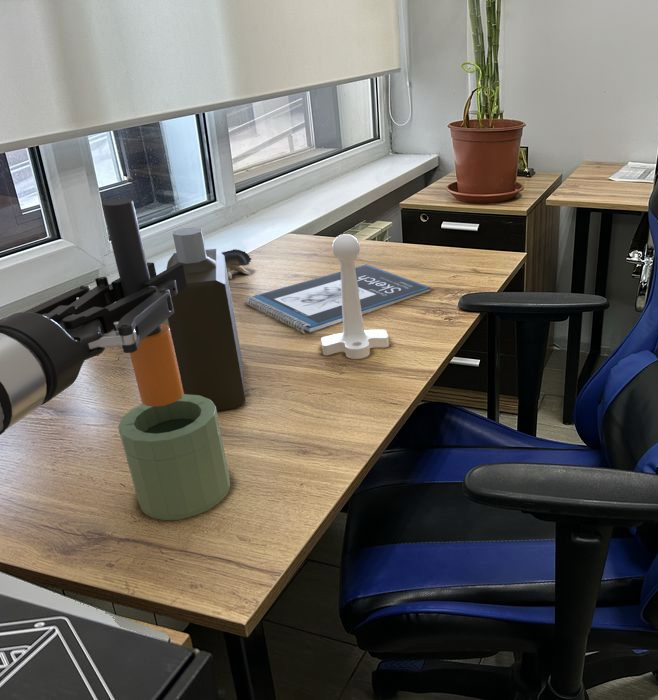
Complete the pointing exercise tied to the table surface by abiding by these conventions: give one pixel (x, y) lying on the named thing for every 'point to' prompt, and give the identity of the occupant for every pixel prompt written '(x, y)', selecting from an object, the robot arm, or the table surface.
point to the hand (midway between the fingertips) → (167, 274)
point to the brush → (157, 348)
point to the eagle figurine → (236, 261)
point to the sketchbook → (334, 298)
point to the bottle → (205, 324)
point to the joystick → (351, 308)
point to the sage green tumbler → (176, 457)
